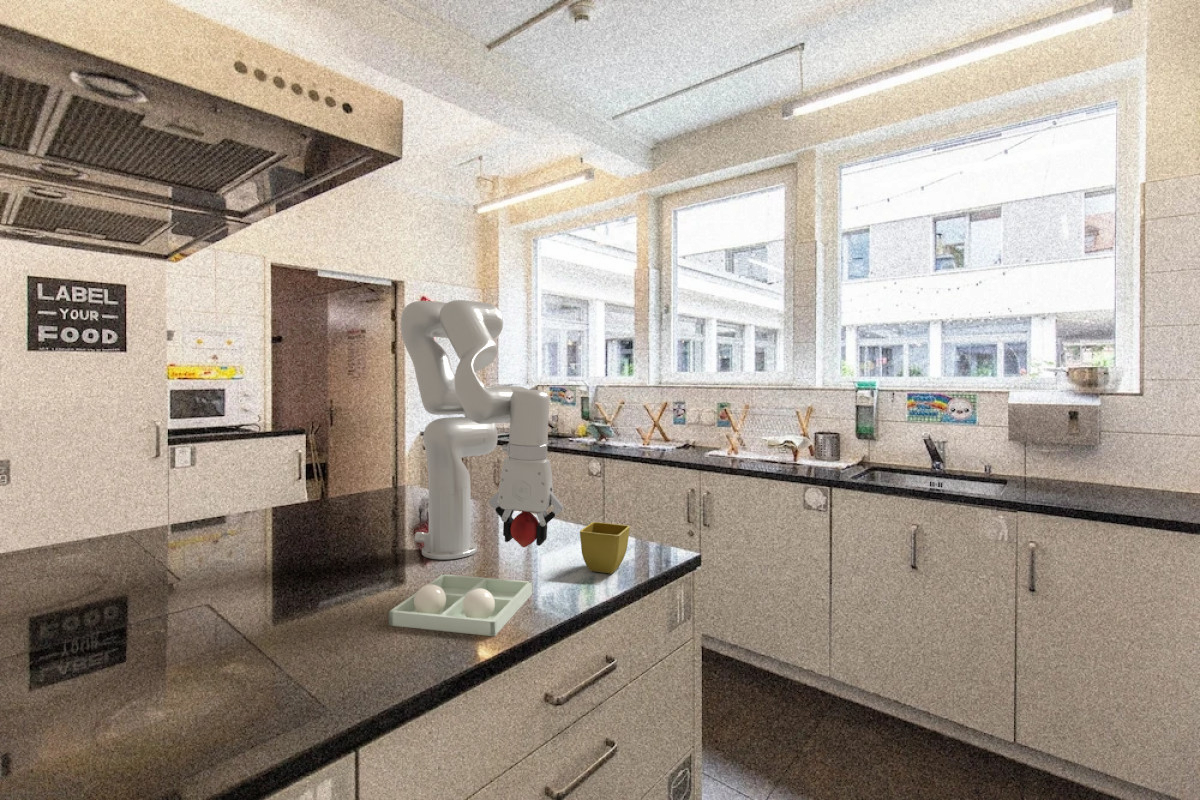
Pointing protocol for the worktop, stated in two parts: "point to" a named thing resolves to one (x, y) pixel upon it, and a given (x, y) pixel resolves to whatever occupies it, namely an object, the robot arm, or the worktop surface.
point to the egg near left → (430, 599)
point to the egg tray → (452, 616)
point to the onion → (524, 528)
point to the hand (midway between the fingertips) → (524, 540)
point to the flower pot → (604, 546)
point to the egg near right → (478, 604)
